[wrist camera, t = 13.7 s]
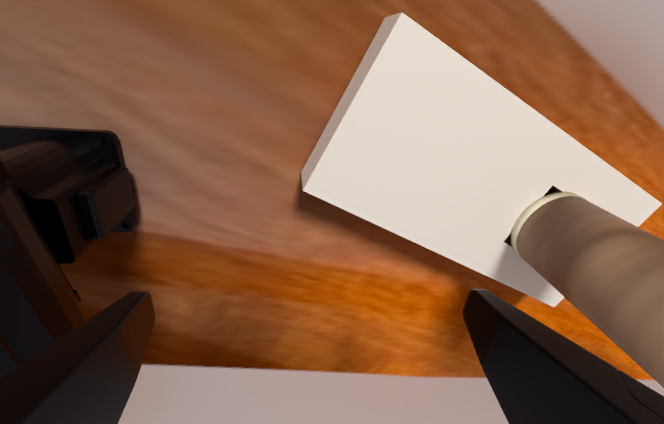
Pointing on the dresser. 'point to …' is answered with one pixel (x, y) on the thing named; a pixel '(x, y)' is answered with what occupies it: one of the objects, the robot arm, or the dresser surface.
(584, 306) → the peg
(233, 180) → the dresser surface
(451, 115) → the board
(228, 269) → the dresser surface
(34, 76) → the dresser surface
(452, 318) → the dresser surface
